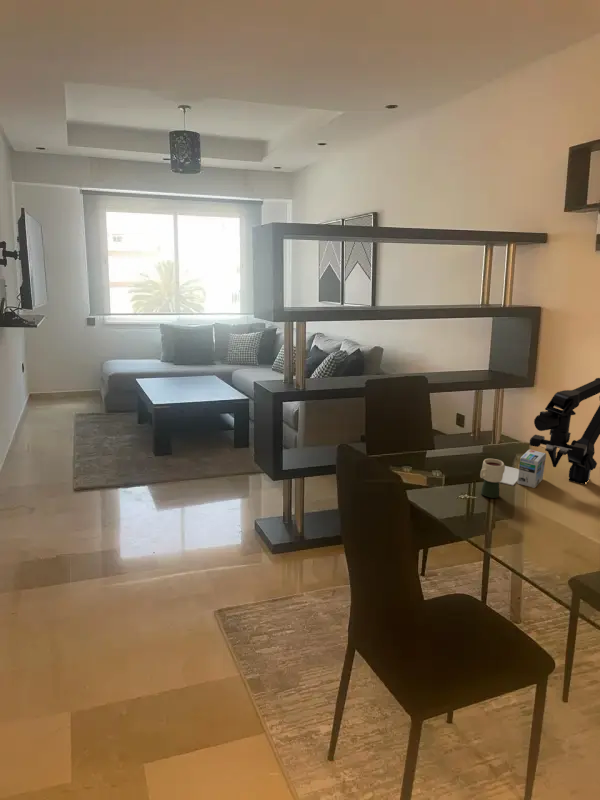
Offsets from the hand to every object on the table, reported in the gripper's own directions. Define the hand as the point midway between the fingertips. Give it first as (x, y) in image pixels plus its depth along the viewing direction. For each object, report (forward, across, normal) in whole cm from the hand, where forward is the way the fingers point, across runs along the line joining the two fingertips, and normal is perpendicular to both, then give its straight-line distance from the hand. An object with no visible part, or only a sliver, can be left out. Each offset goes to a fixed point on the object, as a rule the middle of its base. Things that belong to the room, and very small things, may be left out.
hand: (554, 466), depth 220 cm
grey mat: (+8, +18, 0) cm, 20 cm away
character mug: (+8, +16, +21) cm, 28 cm away
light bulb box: (+8, +8, 0) cm, 11 cm away
